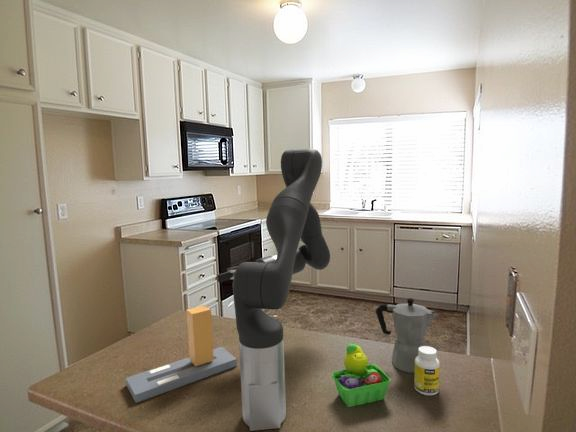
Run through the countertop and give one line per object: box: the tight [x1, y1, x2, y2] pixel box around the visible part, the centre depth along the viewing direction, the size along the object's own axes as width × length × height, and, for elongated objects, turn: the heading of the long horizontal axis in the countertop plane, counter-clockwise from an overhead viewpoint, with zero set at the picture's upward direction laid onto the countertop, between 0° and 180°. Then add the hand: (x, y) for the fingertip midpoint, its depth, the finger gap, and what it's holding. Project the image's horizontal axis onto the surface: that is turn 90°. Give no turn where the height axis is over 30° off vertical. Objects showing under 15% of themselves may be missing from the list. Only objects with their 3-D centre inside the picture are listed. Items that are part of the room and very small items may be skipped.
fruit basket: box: [331, 342, 391, 408], centre depth 85 cm, size 11×9×11 cm
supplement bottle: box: [413, 345, 441, 396], centre depth 87 cm, size 5×5×10 cm
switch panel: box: [125, 346, 238, 404], centre depth 96 cm, size 26×9×2 cm, turn 126°
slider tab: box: [186, 305, 214, 366], centre depth 98 cm, size 5×4×14 cm
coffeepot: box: [375, 297, 439, 374], centre depth 98 cm, size 15×9×18 cm, turn 67°
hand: (225, 282), depth 101 cm, fingers open, 8 cm apart
